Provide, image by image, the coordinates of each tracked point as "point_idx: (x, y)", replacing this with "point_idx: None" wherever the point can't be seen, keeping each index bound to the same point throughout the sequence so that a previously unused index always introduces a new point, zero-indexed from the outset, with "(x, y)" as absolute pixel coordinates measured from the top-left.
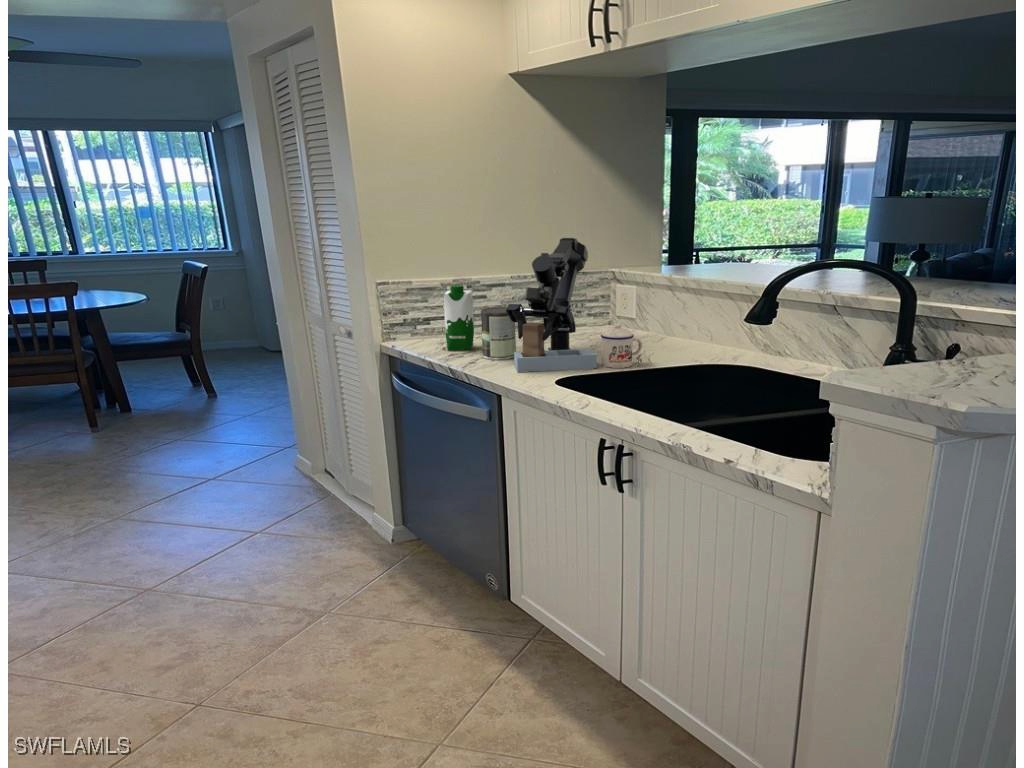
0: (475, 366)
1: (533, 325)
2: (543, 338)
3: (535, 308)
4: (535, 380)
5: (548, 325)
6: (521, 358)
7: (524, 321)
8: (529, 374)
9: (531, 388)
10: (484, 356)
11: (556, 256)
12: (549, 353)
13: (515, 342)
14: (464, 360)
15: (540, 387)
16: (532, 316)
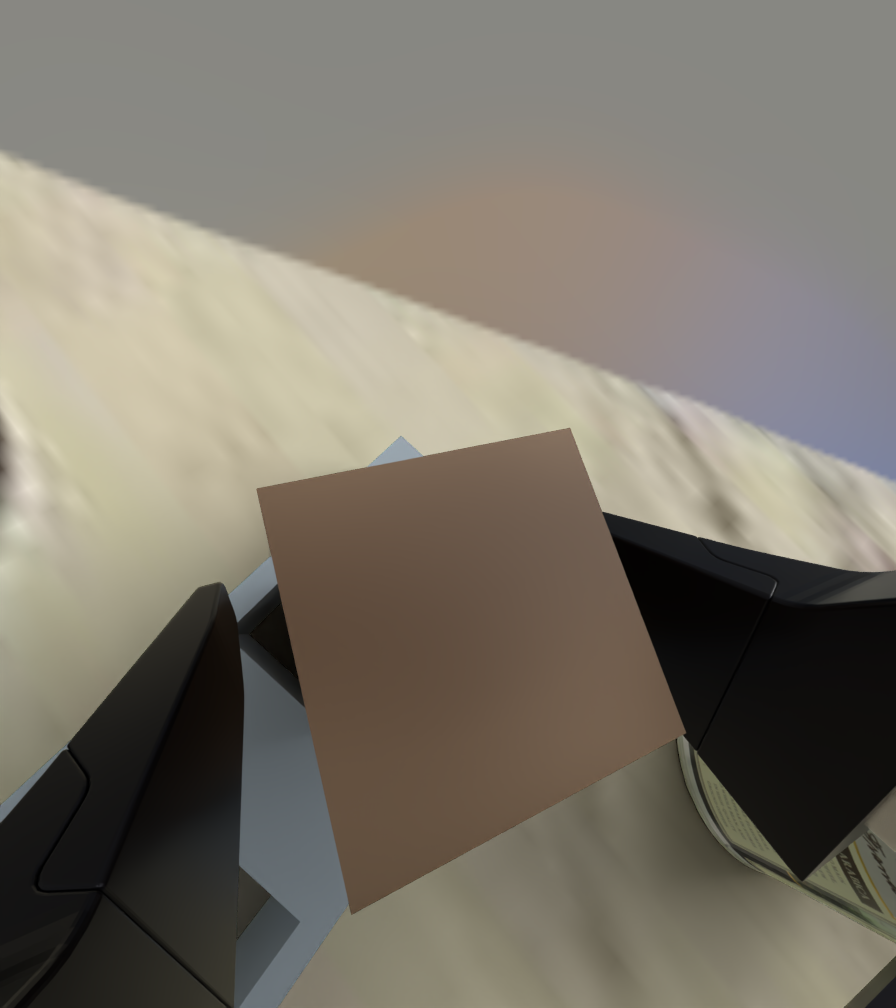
0: (655, 465)
1: (356, 469)
2: (199, 589)
3: None
4: (157, 375)
5: (73, 795)
6: (379, 457)
7: (794, 731)
8: (291, 477)
9: (66, 224)
10: None
11: None
12: (278, 757)
13: (812, 879)
14: (783, 534)
15: (20, 257)
16: (868, 985)
